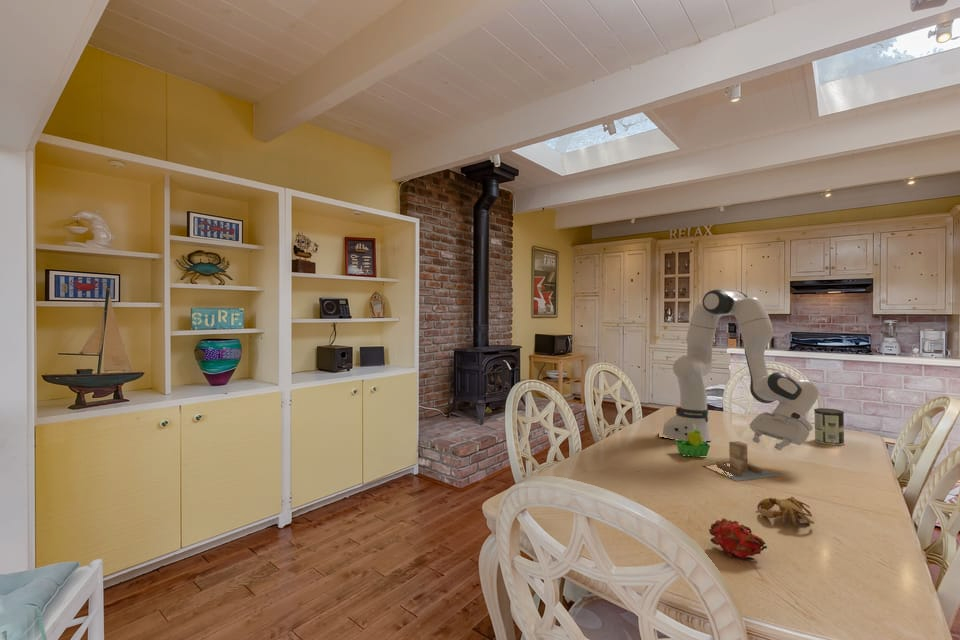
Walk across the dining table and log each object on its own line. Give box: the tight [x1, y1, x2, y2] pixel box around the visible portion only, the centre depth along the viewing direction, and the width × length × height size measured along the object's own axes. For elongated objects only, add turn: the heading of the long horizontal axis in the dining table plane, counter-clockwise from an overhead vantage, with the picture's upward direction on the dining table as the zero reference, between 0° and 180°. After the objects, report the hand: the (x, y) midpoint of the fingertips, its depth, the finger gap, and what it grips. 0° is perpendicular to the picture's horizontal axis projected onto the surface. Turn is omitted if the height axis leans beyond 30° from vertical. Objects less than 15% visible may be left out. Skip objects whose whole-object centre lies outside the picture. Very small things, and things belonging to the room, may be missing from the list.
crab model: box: [756, 496, 815, 528], centre depth 120 cm, size 16×13×6 cm
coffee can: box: [813, 407, 845, 446], centre depth 190 cm, size 10×10×14 cm
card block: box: [728, 440, 749, 472], centre depth 157 cm, size 4×4×10 cm
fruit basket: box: [675, 430, 711, 457], centre depth 175 cm, size 11×9×11 cm
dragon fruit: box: [708, 517, 768, 561], centre depth 102 cm, size 8×8×12 cm
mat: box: [715, 462, 779, 482], centre depth 157 cm, size 18×16×2 cm
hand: (765, 445), depth 160 cm, fingers open, 8 cm apart
